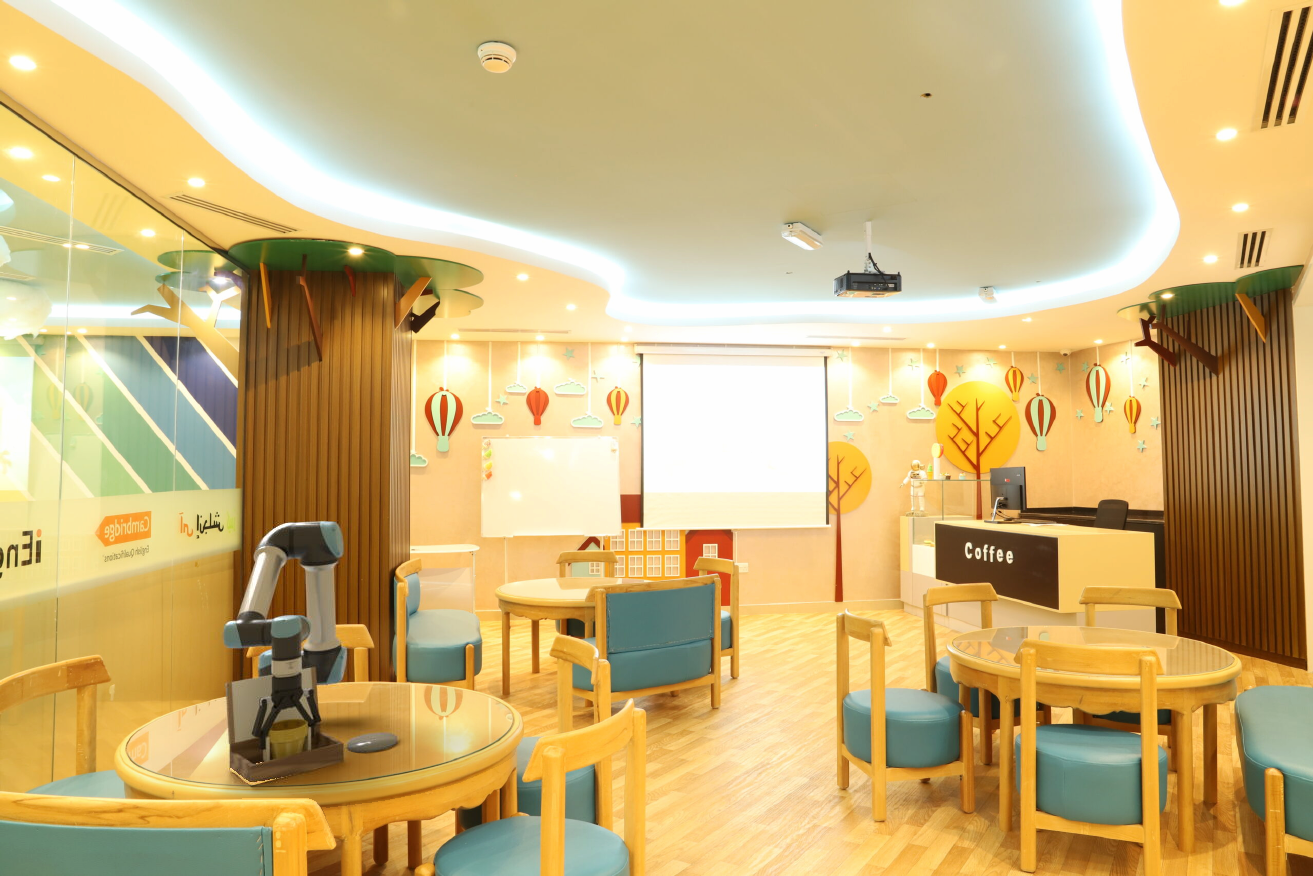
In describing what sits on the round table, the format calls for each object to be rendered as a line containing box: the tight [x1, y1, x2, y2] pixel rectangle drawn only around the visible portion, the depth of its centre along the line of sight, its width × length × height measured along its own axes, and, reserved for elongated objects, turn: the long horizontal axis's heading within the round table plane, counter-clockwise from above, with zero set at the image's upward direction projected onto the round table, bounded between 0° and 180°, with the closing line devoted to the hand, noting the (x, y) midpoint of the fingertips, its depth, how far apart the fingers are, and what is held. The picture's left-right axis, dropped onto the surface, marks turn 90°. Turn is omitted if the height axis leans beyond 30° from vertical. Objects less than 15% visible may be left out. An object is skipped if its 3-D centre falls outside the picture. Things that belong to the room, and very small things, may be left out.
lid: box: [225, 667, 321, 745], centre depth 229 cm, size 4×24×16 cm, turn 134°
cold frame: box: [229, 723, 344, 782], centre depth 222 cm, size 17×24×7 cm
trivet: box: [346, 732, 398, 753], centre depth 238 cm, size 14×14×1 cm
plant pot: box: [267, 719, 308, 759], centre depth 222 cm, size 10×10×10 cm
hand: (287, 755), depth 222 cm, fingers closed on plant pot, 10 cm apart
